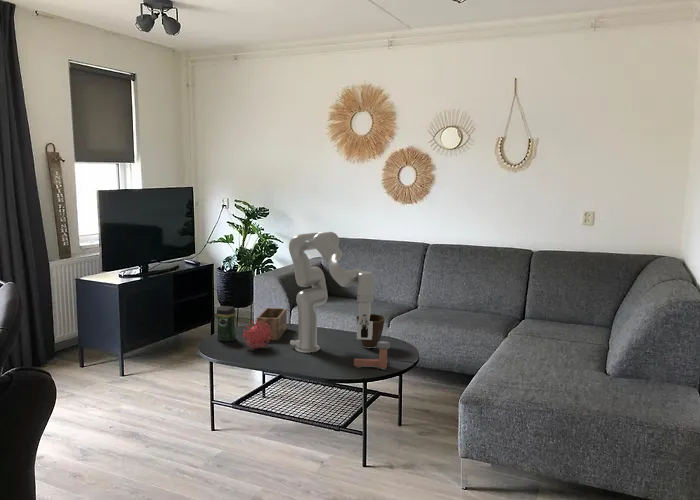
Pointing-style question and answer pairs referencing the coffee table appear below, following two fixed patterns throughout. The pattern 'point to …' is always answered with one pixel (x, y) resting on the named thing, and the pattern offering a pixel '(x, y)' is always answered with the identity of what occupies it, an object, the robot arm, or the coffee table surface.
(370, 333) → the block
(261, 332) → the virus model
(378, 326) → the plant pot
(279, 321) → the wooden crate
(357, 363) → the brown mallet
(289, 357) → the coffee table surface
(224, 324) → the coffee jar
